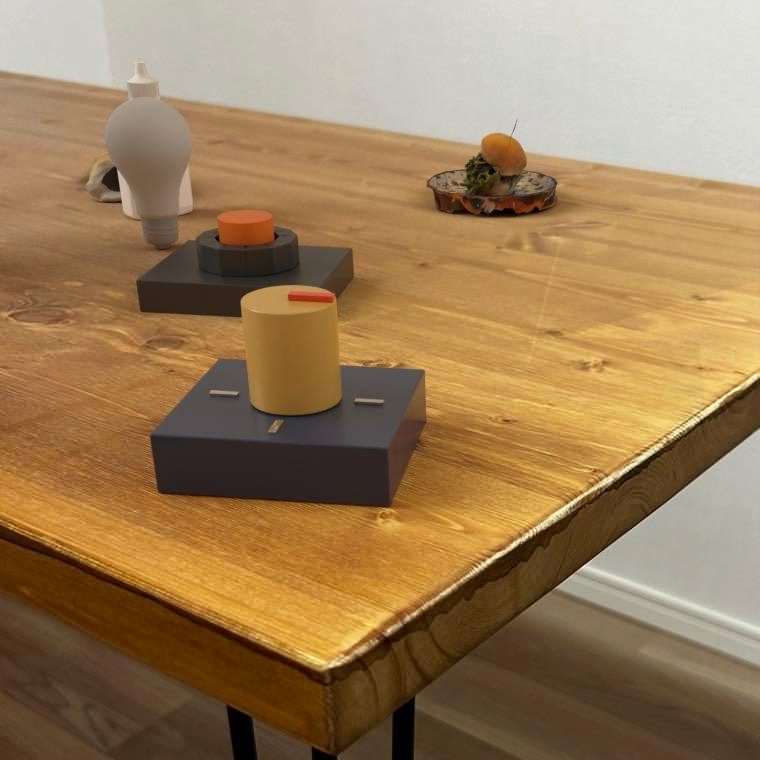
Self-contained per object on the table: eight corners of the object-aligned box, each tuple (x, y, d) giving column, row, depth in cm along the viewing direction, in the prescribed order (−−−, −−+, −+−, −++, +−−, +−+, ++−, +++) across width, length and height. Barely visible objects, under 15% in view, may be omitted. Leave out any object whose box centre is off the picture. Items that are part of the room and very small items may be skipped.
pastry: (113, 179, 111) (107, 136, 109) (186, 180, 112) (182, 138, 110) (84, 202, 103) (77, 157, 101) (163, 204, 104) (158, 159, 102)
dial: (238, 413, 56) (227, 304, 54) (265, 379, 60) (255, 276, 58) (330, 418, 56) (322, 309, 54) (350, 384, 60) (345, 281, 57)
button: (212, 248, 79) (209, 221, 78) (229, 234, 82) (227, 208, 81) (266, 250, 79) (263, 224, 78) (281, 236, 82) (279, 211, 81)
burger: (514, 181, 115) (515, 99, 111) (584, 208, 106) (587, 120, 102) (402, 194, 109) (399, 108, 105) (466, 223, 100) (465, 131, 97)
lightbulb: (205, 236, 95) (188, 90, 89) (203, 258, 89) (185, 104, 84) (124, 239, 93) (103, 91, 88) (117, 261, 88) (94, 105, 83)
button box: (140, 312, 78) (131, 252, 76) (191, 269, 87) (185, 214, 85) (320, 322, 77) (316, 261, 75) (354, 277, 86) (351, 222, 84)
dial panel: (157, 493, 56) (148, 430, 54) (224, 410, 64) (218, 354, 63) (390, 507, 55) (387, 445, 53) (426, 422, 64) (425, 366, 62)
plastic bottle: (193, 219, 99) (175, 65, 93) (122, 221, 98) (99, 66, 92) (194, 207, 103) (177, 58, 97) (126, 209, 102) (105, 58, 96)
